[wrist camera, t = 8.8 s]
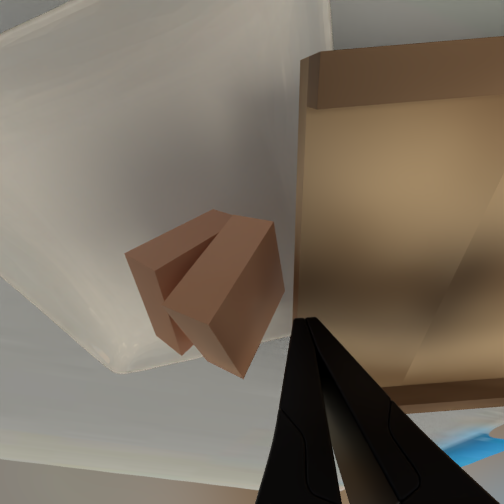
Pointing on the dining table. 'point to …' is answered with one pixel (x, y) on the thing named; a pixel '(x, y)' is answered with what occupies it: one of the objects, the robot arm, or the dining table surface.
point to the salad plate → (144, 149)
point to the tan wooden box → (406, 216)
